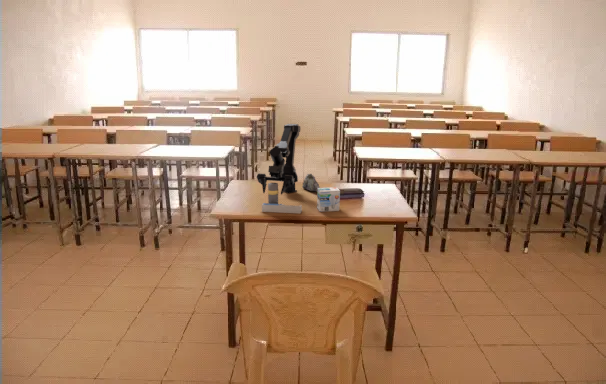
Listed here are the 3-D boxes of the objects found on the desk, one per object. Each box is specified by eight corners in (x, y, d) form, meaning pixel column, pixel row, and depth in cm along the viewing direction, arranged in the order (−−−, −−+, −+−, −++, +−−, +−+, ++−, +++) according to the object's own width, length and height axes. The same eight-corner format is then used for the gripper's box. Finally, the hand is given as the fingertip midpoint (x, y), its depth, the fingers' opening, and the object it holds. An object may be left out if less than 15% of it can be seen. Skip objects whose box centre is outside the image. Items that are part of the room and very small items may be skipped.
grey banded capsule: (266, 207, 235) (266, 183, 232) (276, 206, 237) (276, 182, 234) (270, 210, 231) (270, 185, 227) (280, 209, 233) (279, 184, 229)
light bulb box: (319, 212, 229) (319, 191, 226) (316, 207, 235) (316, 187, 232) (340, 210, 231) (340, 190, 228) (336, 206, 237) (337, 186, 234)
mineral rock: (320, 194, 260) (320, 177, 257) (301, 193, 260) (301, 176, 258) (320, 188, 272) (320, 171, 269) (302, 187, 273) (302, 171, 270)
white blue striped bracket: (261, 211, 229) (261, 203, 228) (263, 209, 233) (263, 201, 231) (300, 213, 226) (300, 205, 225) (301, 210, 230) (301, 203, 229)
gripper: (257, 158, 233) (250, 184, 225) (292, 159, 229) (287, 186, 221) (262, 169, 242) (256, 195, 235) (296, 171, 238) (291, 197, 231)
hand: (272, 193), depth 230 cm, fingers open, 9 cm apart
